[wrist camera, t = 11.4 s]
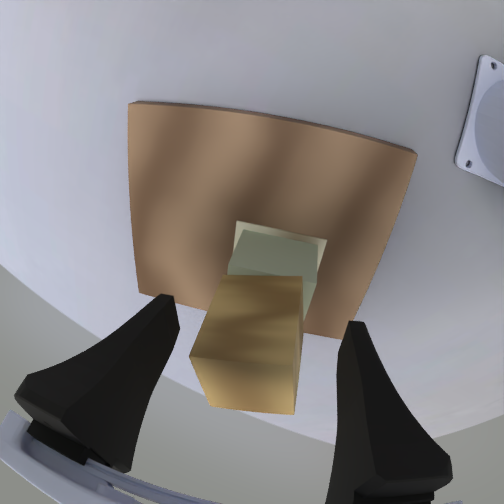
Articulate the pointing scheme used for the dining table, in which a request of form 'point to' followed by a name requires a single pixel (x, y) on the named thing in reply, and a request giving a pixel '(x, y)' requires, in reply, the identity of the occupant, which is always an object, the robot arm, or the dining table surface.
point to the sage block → (276, 260)
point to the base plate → (258, 200)
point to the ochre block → (252, 344)
